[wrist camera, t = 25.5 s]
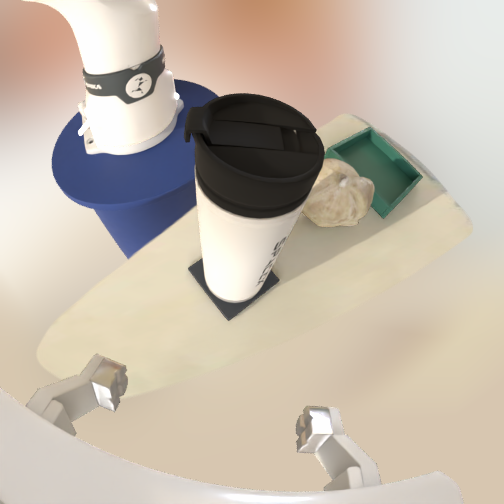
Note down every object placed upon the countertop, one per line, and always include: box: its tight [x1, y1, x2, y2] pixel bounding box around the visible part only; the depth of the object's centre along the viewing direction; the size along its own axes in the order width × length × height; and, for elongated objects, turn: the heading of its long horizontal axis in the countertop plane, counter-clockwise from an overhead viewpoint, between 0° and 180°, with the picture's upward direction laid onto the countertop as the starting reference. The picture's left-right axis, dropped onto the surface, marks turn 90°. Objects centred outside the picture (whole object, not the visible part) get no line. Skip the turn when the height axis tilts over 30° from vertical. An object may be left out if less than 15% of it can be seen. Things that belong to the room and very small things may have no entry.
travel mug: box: [184, 93, 325, 303], centre depth 20 cm, size 6×7×20 cm
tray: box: [324, 127, 423, 219], centre depth 38 cm, size 13×13×2 cm
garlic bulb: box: [301, 158, 374, 227], centre depth 30 cm, size 9×8×10 cm
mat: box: [188, 258, 279, 321], centre depth 29 cm, size 7×7×1 cm
